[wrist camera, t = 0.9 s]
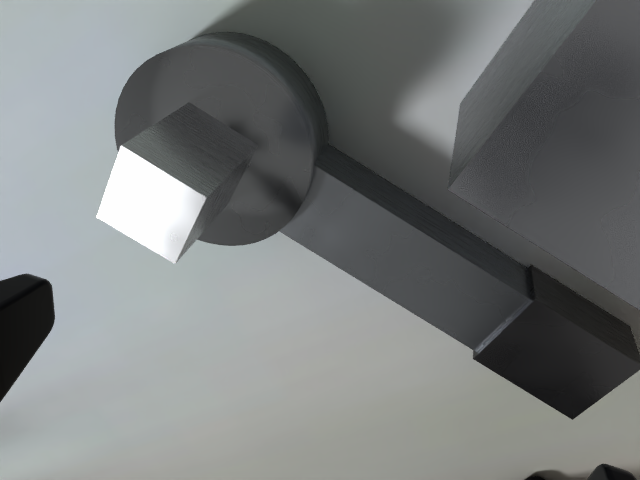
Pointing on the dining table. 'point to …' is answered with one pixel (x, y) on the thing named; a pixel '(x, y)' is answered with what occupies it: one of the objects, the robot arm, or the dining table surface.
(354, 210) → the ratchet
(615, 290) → the brushed metal cube
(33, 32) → the dining table surface
